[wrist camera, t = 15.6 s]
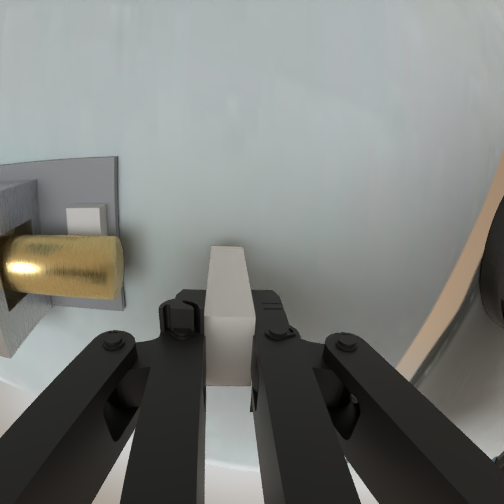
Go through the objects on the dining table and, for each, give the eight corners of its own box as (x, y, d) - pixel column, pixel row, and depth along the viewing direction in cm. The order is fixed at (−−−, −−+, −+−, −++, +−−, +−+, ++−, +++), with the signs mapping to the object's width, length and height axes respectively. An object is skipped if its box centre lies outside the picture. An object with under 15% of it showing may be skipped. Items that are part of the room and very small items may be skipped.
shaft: (121, 228, 15) (102, 248, 12) (125, 283, 16) (110, 311, 13) (-49, 228, 14) (-77, 242, 11) (-40, 271, 15) (-66, 289, 12)
